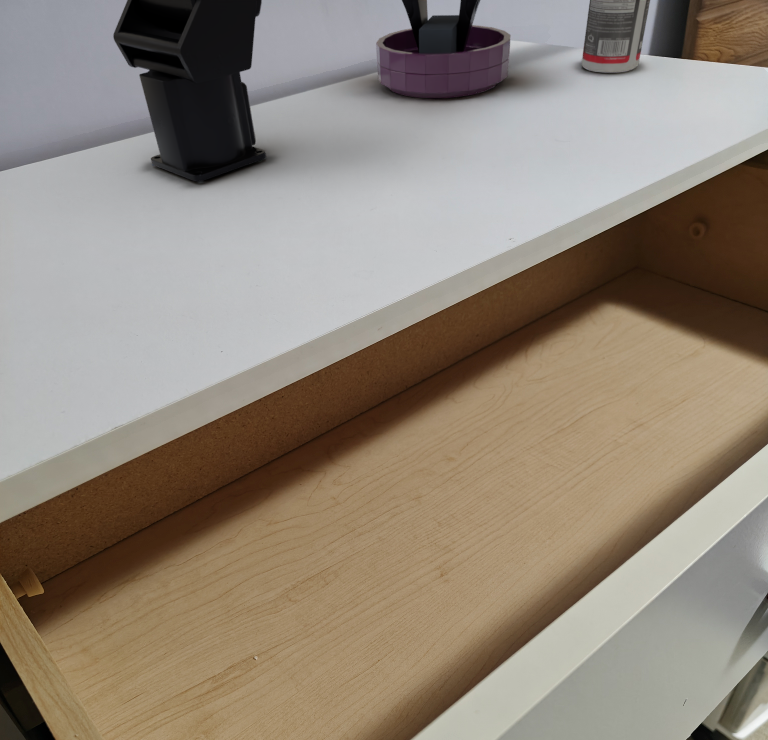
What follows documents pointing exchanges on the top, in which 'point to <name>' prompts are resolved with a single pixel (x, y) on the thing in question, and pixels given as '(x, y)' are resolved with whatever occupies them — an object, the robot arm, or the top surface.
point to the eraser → (439, 34)
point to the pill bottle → (614, 35)
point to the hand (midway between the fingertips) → (441, 60)
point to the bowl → (443, 64)
